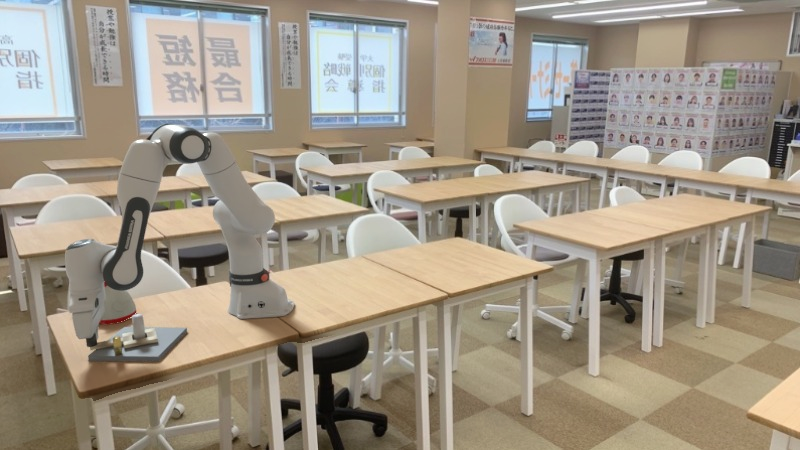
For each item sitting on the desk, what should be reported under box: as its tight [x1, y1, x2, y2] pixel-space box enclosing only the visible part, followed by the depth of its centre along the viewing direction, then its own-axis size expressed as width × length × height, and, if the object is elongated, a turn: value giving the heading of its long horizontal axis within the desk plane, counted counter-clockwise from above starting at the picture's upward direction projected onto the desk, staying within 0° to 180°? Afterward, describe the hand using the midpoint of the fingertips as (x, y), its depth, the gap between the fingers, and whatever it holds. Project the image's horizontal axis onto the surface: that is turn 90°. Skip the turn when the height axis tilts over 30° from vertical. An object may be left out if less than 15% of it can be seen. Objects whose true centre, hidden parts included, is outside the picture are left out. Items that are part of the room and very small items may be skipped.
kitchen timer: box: [99, 281, 137, 325], centre depth 186 cm, size 14×14×15 cm
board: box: [87, 313, 188, 362], centre depth 164 cm, size 20×20×10 cm
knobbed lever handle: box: [85, 328, 158, 351], centre depth 162 cm, size 18×9×4 cm, turn 119°
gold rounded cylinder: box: [113, 336, 123, 356], centre depth 156 cm, size 2×2×5 cm
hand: (94, 340), depth 161 cm, fingers closed
